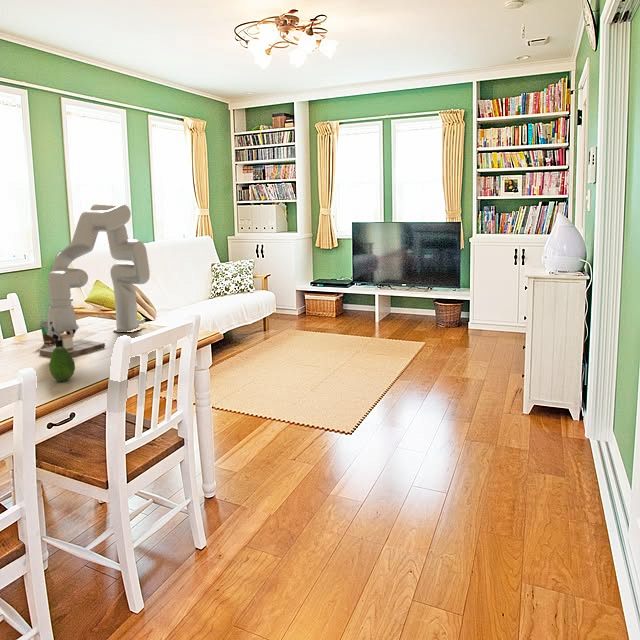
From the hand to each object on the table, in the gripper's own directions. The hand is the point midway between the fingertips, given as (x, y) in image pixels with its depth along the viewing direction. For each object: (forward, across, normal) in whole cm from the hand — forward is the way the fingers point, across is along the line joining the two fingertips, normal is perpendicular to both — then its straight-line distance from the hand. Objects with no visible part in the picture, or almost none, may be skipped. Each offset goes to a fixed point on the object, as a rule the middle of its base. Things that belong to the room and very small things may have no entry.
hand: (64, 347), depth 231 cm
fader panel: (+2, -4, 0) cm, 4 cm away
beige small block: (0, 0, 0) cm, 0 cm away
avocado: (+2, +24, +29) cm, 38 cm away
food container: (+3, -11, -18) cm, 21 cm away
